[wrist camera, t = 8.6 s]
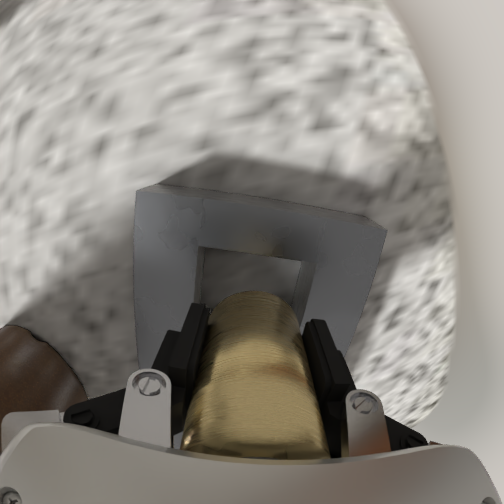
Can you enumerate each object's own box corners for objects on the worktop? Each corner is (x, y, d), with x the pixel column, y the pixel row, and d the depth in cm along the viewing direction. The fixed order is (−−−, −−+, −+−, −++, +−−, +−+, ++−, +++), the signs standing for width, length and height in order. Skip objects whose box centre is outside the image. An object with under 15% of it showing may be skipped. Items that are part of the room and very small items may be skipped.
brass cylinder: (212, 284, 12) (173, 429, 5) (308, 297, 12) (357, 439, 5) (204, 358, 13) (178, 492, 6) (287, 368, 13) (305, 500, 6)
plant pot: (26, 274, 17) (-111, 398, 2) (141, 418, 22) (98, 566, 6) (-27, 328, 19) (-100, 407, 4) (57, 429, 24) (14, 520, 9)
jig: (156, 183, 15) (91, 207, 8) (365, 216, 16) (432, 259, 9) (158, 418, 21) (140, 481, 15) (289, 433, 22) (297, 498, 15)
